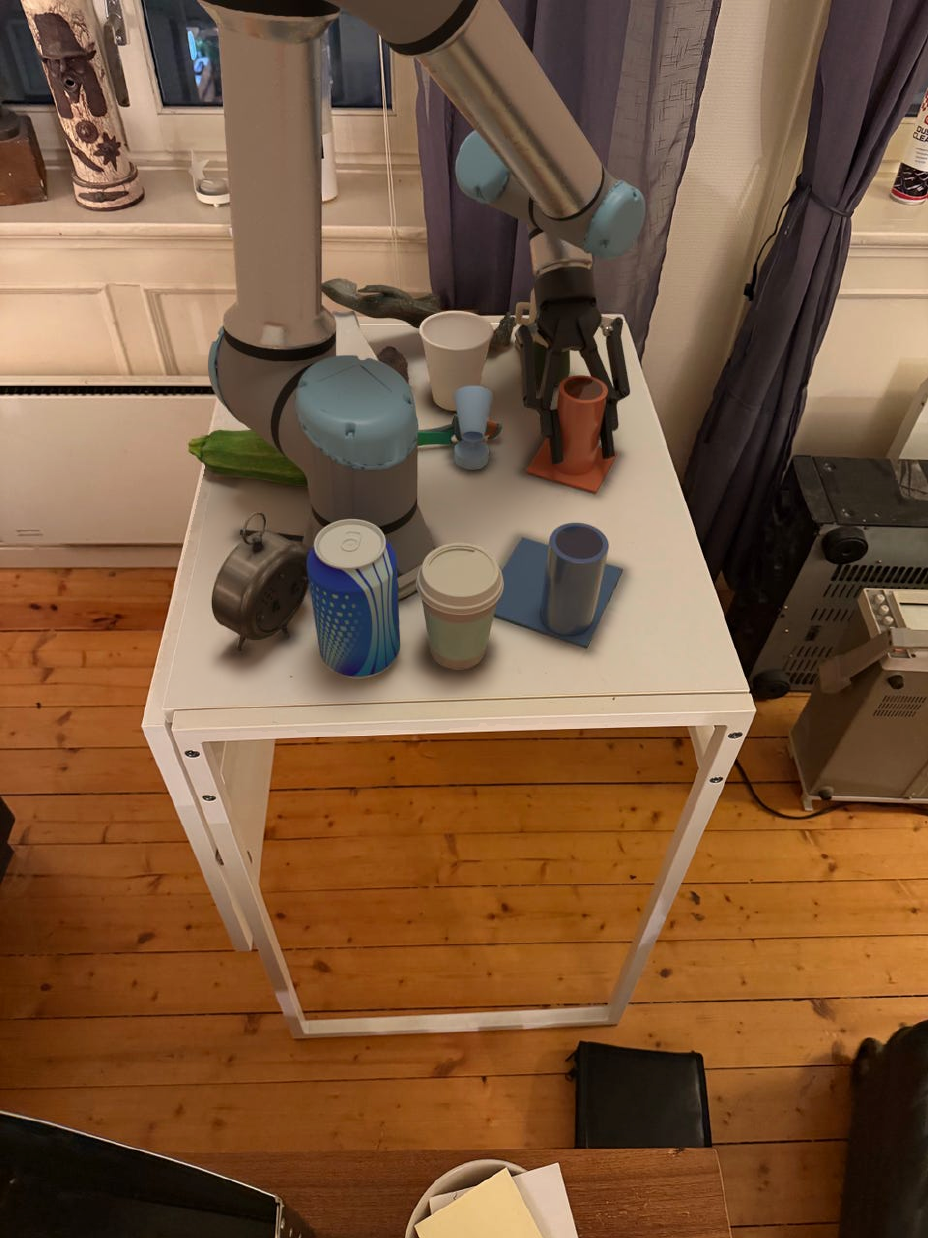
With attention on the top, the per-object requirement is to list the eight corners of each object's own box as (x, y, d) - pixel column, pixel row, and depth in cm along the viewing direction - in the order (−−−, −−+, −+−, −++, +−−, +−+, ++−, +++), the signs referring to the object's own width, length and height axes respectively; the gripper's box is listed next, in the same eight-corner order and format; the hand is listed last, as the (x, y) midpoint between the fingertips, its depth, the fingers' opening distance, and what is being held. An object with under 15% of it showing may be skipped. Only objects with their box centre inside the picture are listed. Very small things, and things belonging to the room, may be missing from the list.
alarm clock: (287, 589, 97) (267, 475, 85) (325, 608, 96) (310, 494, 84) (220, 651, 91) (188, 538, 79) (260, 673, 89) (233, 560, 77)
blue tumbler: (531, 625, 94) (540, 551, 86) (550, 589, 98) (561, 515, 90) (583, 643, 93) (598, 569, 85) (600, 606, 96) (616, 532, 88)
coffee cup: (500, 623, 95) (507, 542, 86) (494, 684, 89) (501, 604, 80) (423, 615, 95) (422, 534, 86) (412, 676, 90) (410, 596, 81)
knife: (499, 435, 118) (501, 403, 114) (503, 443, 117) (505, 412, 113) (354, 454, 114) (351, 423, 111) (357, 464, 113) (354, 432, 109)
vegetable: (332, 481, 103) (170, 469, 105) (344, 496, 111) (192, 484, 112) (338, 422, 104) (177, 410, 106) (350, 440, 111) (199, 429, 113)
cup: (466, 428, 119) (468, 357, 111) (406, 405, 122) (404, 334, 114) (502, 394, 124) (507, 324, 116) (444, 373, 128) (445, 303, 120)
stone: (376, 401, 123) (411, 401, 124) (376, 388, 121) (412, 388, 122) (371, 354, 130) (405, 355, 130) (372, 341, 128) (406, 341, 128)
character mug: (508, 386, 125) (515, 302, 116) (512, 360, 130) (519, 277, 121) (584, 393, 125) (596, 309, 115) (585, 366, 130) (597, 283, 120)
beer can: (416, 655, 92) (414, 544, 80) (355, 699, 87) (343, 588, 76) (365, 612, 95) (356, 500, 84) (304, 652, 91) (285, 540, 80)
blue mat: (479, 611, 96) (479, 608, 96) (521, 539, 104) (522, 536, 104) (586, 648, 93) (587, 646, 93) (622, 571, 101) (623, 568, 101)
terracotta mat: (525, 473, 113) (525, 470, 112) (549, 435, 118) (549, 433, 118) (595, 493, 110) (596, 491, 110) (616, 454, 116) (617, 452, 115)
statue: (530, 311, 128) (332, 254, 116) (520, 352, 129) (324, 300, 118) (503, 314, 137) (317, 261, 125) (495, 352, 138) (310, 304, 127)
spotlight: (452, 440, 117) (452, 472, 112) (454, 375, 109) (453, 407, 105) (489, 441, 117) (490, 473, 112) (493, 376, 109) (494, 408, 105)
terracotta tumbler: (543, 467, 113) (551, 394, 105) (558, 442, 117) (568, 370, 108) (586, 480, 111) (599, 407, 103) (601, 454, 115) (614, 382, 107)
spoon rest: (390, 428, 118) (388, 382, 113) (303, 432, 117) (297, 386, 111) (382, 337, 134) (380, 293, 128) (305, 340, 132) (299, 295, 127)
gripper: (625, 279, 113) (644, 456, 114) (483, 289, 110) (504, 471, 112) (646, 258, 106) (665, 448, 107) (494, 268, 103) (516, 463, 104)
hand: (583, 459), depth 109 cm, fingers closed on terracotta tumbler, 6 cm apart
